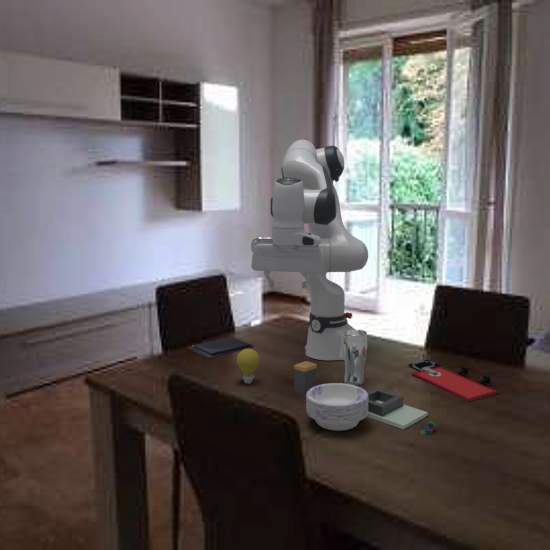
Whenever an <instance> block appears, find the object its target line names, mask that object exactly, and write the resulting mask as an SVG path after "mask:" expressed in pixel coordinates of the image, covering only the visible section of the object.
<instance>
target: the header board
mask: <svg viewBox="0 0 550 550" xmlns="http://www.w3.org/2000/svg"><path fill="white" fill-rule="evenodd" d="M366 392H367V393H368V397H369V398H368V415H367V416H366V417H367V418H370V419H372V420H376V421H379V422H381V423H384V424H387V425H390V426H393V427H395V428H399V429H402V430H404V431H405V429H407V428H409V427H411V426H412V425H414V424H416V423H418V422H419V421H420V422H421V420H423V419H424V418H426V416H427V417H428V412H427V411H425V410H421V409H418V408H416V407H412V406H410V405H407V404H404V396H403V395H399V394H396V393H393V392H390V391H387V390H384V389H379V388H377V387H375V388H374V389H372V390H371V389H370V390H369V391H366Z"/></svg>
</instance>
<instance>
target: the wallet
mask: <svg viewBox="0 0 550 550" xmlns="http://www.w3.org/2000/svg"><path fill="white" fill-rule="evenodd" d="M254 346H255V345H253V344H252V343H249V342H247V341H243V340H241V339H238V338H236V337H233V336H230V337H225V338H220V339H217V340H212V341H206V342H202V343H198V344H194V345H191V346H187V347H186V349H187V350H189V351H191V352H193V353H195V354H196V355H197V354H198V355H199V356H201V357H204V358H205V359H213V358H214V359H215V358H218V357H223V356H225V355H231V354H234V353H237V351H238V352H241V350H244V349H248V348H251V349H254V348H253V347H254ZM233 352H234V353H233Z"/></svg>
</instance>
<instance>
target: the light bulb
mask: <svg viewBox="0 0 550 550" xmlns="http://www.w3.org/2000/svg"><path fill="white" fill-rule="evenodd" d="M236 364H237V366H238V368H239V370H240V371H241V372H242V380H243V382H244V383H245V384H252V383H253V380H254V378H255V375H254V372H255V371H256V370H257V368H258V366H259V364H260V356H259V354H258V352H257V351H256V350H254V349H253V348H251V349H244V350H242V351H239V353H238V354H237V357H236ZM251 382H252V383H251Z"/></svg>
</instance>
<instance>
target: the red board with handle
mask: <svg viewBox="0 0 550 550" xmlns="http://www.w3.org/2000/svg"><path fill="white" fill-rule="evenodd" d="M407 365H408V366H410V367H411V368H414V369H416V370H418V371H416V372H412V373H411V377H413V376H414V377H413V378H415V377H416V378H415V379H417V378H418V379H417V380H419V379H421V380H423V381H422V382H424V381H425V382H424V383H426V382H427V383H426V384H428V383H430V384H432V385H434V386H433V387H435V386H437V387H438V388H437V387H436V388H437V389H439V388H441V389H443V390H442V391H444V390H445V391H444V392H446V391H448V392H450V393H452V394H455V395H457V396H459V397H461V398H464V399H466V400H473V399H476V398H480V397H484V396H488V395H491V394H494V393H498V394H499V391H497V390H496V389H493V388H491V387H488V386H487V385H486V384H485V383H487V384H489V383H490V384H491V376H489V375H487V374H484V375H482V379H481V380H479V381H477V382H476V381H475V380H472V379H470V378H468V377H466V376H464V375H462V374H465V375H467V374H468V375H469V368H468V367H467V366H464V365H462V366H460V367H461V369H460V370H458V371H457V372H454V371H451V370H448V369H446V368H444V367H443V366H442V365H441V364H438V363H436V362H433V361H431V360H429V359H425V360H420V361H416V362H412V363H407ZM421 380H420V381H421ZM430 384H429V385H430ZM432 385H431V386H432ZM441 389H440V390H441ZM448 392H447V393H448ZM450 393H449V394H450ZM452 394H451V395H452ZM455 395H454V396H455ZM457 396H456V397H457ZM459 397H458V398H459ZM461 398H460V399H461ZM466 400H465V401H466Z"/></svg>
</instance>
